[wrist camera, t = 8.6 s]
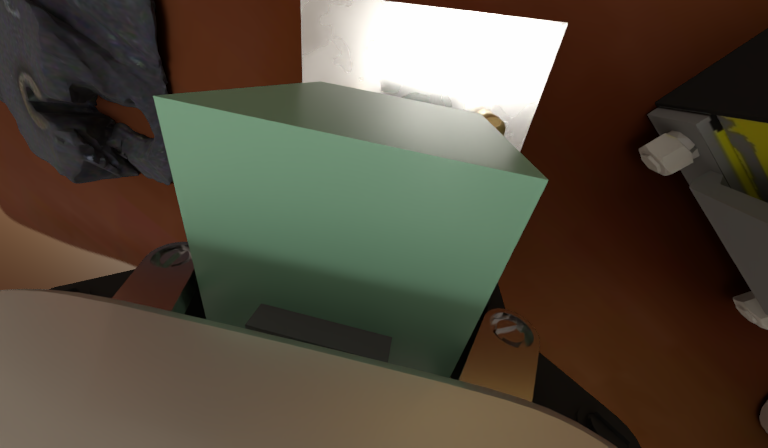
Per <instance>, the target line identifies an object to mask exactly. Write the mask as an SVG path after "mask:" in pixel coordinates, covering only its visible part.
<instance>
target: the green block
mask: <svg viewBox="0 0 768 448" xmlns="http://www.w3.org/2000/svg"><path fill="white" fill-rule="evenodd" d="M153 98H154V102H155V106H156V110H157V115H158V119H159V123H160V127H161V131H162V135H163V140H164V144H165V148H166V152H167V156H168V161H169V165H170V169H171V173H172V177H173V182H174V186H175V190H176V194H177V198H178V202H179V207H180V211H181V215H182V219H183V223H184V228H185V232H186V236H187V240H188V244H189V249H190V253H191V257H192V261H193V265H194V269H195V274H196V278H197V282H198V286H199V290H200V295H201V299H202V303H203V307H204V311H205V316H206V320H211V321H215V322H219V323H224V324H228V325H232V326H237V327H241V328H245V329H249V330H254V331H258V332H262V333H266V334H270V335H275V336H279V337H283V338H287V339H292V340H296V341H300V342H304V343H308V344H313V345H317V346H321V347H325V348H329V349H334V350H338V351H342V352H346V353H350V354H354V355H358V356H362V357H367V358H371V359H375V360H379V361H383V362H387V363H391V364H395V365H399V366H403V367H408V368H412V369H416V370H420V371H424V372H428V373H432V374H436V375H440V376H444V377H447V378H450V376H451V374H452V372H453V370H454V368H455V366H456V364H457V362H458V360H459V358H460V356H461V354H462V352H463V350H464V348H465V346H466V344H467V342H468V340H469V338H470V336H471V334H472V332H473V330H474V328H475V326H476V324H477V322H478V320H479V318H480V316H481V314H482V312H483V310H484V308H485V306H486V304H487V302H488V300H489V298H490V296H491V294H492V292H493V290H494V288H495V286H496V284H497V282H498V280H499V278H500V276H501V274H502V272H503V270H504V268H505V266H506V264H507V262H508V260H509V258H510V256H511V254H512V252H513V250H514V248H515V246H516V244H517V242H518V240H519V238H520V236H521V234H522V232H523V230H524V228H525V226H526V224H527V222H528V220H529V218H530V216H531V214H532V212H533V210H534V208H535V206H536V204H537V202H538V200H539V198H540V196H541V194H542V192H543V190H544V188H545V186H546V184H547V182H548V179H547V178H546V177H545V176H544V175H543V174H542V173H541V172H540V171H539V170H538V169H537V168H536V167H535V166H534V165H533V164H532V163H531V162H530V161H529V160H528V159H527V158H525V157H524V156H523V155H522V154H521V153H520V152H519V151H518V150H517V149H516V148H515V147H514V146H513V145H512V144H511V143H510V142H509V141H508V140H507V139H506V138H505V137H504V136H503V135H502V134H501V133H500V132H499V131H498V130H497V129H496V128H495V127H494V126H493V125H492V124H491V123H490V122H489V121H488V120H487V119H486V118H485V117H484V116H483V115H482V114H480V113H475V112H470V111H465V110H460V109H455V108H450V107H445V106H440V105H435V104H430V103H426V102H421V101H416V100H411V99H406V98H401V97H396V96H391V95H386V94H381V93H376V92H371V91H366V90H361V89H356V88H351V87H346V86H341V85H336V84H331V83H326V82H321V81H319V82H308V83H296V84H284V85H273V86H261V87H249V88H238V89H226V90H214V91H202V92H191V93H179V94H167V95H156V96H153Z"/></svg>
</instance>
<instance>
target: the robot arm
mask: <svg viewBox="0 0 768 448" xmlns="http://www.w3.org/2000/svg"><path fill="white" fill-rule="evenodd" d="M539 348H540V337H539V335H538V333H537V331H536V329H535V328H534V327H533V325H532V324H531V323H530V322H529V321H528V320H526V319H525V318H524V317H522V316H521V315H519V314H517V313H516V312H513V311H510V310H507V309H505V307H504V303H503V300H502V296H501V293H500V289H499V286H498V282H497V284H496V286H495V288H494V290H493V292H492V294H491V296H490V298H489V300H488V302H487V304H486V306H485V308H484V310H483V312H482V314H481V316H480V318H479V320H478V322H477V324H476V326H475V328H474V330H473V332H472V334H471V336H470V338H469V340H468V342H467V344H466V346H465V348H464V350H463V352H462V354H461V356H460V358H459V360H458V362H457V364H456V366H455V368H454V370H453V372H452V374H451V376H450V377H451V378H452V379H451V378H447V377H444V376H440V375H436V374H432V373H428V372H424V371H420V370H416V369H412V368H408V367H403V366H399V365H395V364H391V363H387V362H383V361H379V360H375V359H371V358H367V357H362V356H358V355H354V354H350V353H346V352H342V351H338V350H334V349H329V348H325V347H321V346H317V345H313V344H308V343H304V342H300V341H296V340H292V339H287V338H283V337H279V336H275V335H270V334H266V333H262V332H258V331H254V330H249V329H245V328H241V327H237V326H232V325H228V324H224V323H219V322H215V321H211V320H206V316H205V311H204V307H203V303H202V299H201V295H200V290H199V286H198V282H197V278H196V274H195V269H194V265H193V261H192V257H191V253H190V249H189V244H188V242H176V243H171V244H167V245H164V246H161V247H159V248H157V249H155V250H153V251H151V252H150V253H149V254H148V255H147V256H146V257H145V258H144V259H143V260H142V262H141V263H140V264H139V265H138V267H137V268H136V269H134V270H130V271H126V272H121V273H117V274H112V275H108V276H104V277H99V278H94V279H90V280H86V281H81V282H77V283H73V284H68V285H64V286H58V287H54V288H51V289H49V290H47V289H46V290H45V289H43V290H42V289H15V290H14V289H13V290H0V448H641V447H640V445H639V443H638V441H637V439H636V437H635V436H634V435H633V434H632V432H631V431H630V430H629V428H628V427H627V426H626V425H625V424H624V423H623V422H622V421H621V420H620V419H619V418H618V417H617V416H616V415H614V414H613V413H612V412H611V411H610V410H608V409H607V408H606V407H605V406H604V405H602V404H601V403H600V402H599V401H598V400H596V399H595V398H594V397H593V396H591V395H590V394H589V393H588V392H587V391H585V390H584V389H583V388H582V387H581V386H579V385H578V384H577V383H576V382H575V381H573V380H572V379H571V378H570V377H569V376H567V375H566V374H565V373H564V372H562V371H561V370H560V369H559V368H558V367H556V366H555V365H554V364H553V363H552V362H550V361H549V360H548V359H547V358H546V357H544V356H543V355H542V354H541V353H539ZM759 418H760V423H761V426H762V427H763V428H764V430H765V431H766V432H767V433H768V400H767V401H766V402H765V404H764V405H763V407H762V408H761V412H760V416H759Z"/></svg>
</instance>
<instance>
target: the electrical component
mask: <svg viewBox="0 0 768 448" xmlns="http://www.w3.org/2000/svg"><path fill="white" fill-rule="evenodd" d="M655 104H656V106H657V107H658V108H656V109H655V110H653V111H652V112H650V113H649V114H647V115H648V117H649V119H650V120H651V122H652V124H653V125H654V127H655V129H656V130H657V132H658V134H659V135H660V136H659V137H657V138H656V139H654V140H652V141H651V142H649V143H647V144H646V145H644V146H642V147H641V148H639V153H640V155H641V160H642V161H643V162H644V163H645V165H646V166H647V167H648V168H649V169H651V170H653V171H655V172H657V173H659V174H661V175H663V176H667V175H670V174H673V173H675V172H677V171H679V170H681V172H682V174H683V175H684V177H685V179H686V180H687V182H688V184H689V185H690V187H689V188H690V190H691V191H692V193H693V195H694V196H695V198H696V200H697V201H698V203H699V205H700V206H701V208H702V210H703V211H704V213H705V215H706V216H707V218H708V220H709V221H710V223H711V225H712V226H713V228H714V230H715V231H716V233H717V235H718V236H719V238H720V240H721V241H722V243H723V244H724V246H725V248H726V249H727V251H728V253H729V254H730V256H731V258H732V259H733V261H734V263H735V264H736V266H737V268H738V269H739V271H740V273H741V274H742V276H743V278H744V279H745V281H746V283H747V284H748V286H749V288H750V289H751V291H749V292H746V293H744V294H741V295H738V296H735V297H733V300H734V304H735V305H736V308H737V309H738V311H739V312H740V313H741V314H742V315H743V316H744V317H745V318H746V319H748V320H749V321H750V322H752V323H754V324H756V325H758V326H759V327H761V328H764V329H767V330H768V28H767V29H766V30H764V31H763V32H761V33H760V34H758V35H757V36H755V37H754V38H752V39H751V40H749V41H748V42H746V43H745V44H743V45H742V46H740V47H738V48H737V49H735V50H734V51H732V52H731V53H729V54H728V55H726V56H725V57H723V58H722V59H720V60H719V61H717V62H716V63H714V64H713V65H711V66H710V67H708V68H707V69H705V70H704V71H702V72H701V73H699V74H697V75H696V76H694V77H693V78H691V79H690V80H688V81H687V82H685V83H684V84H682V85H681V86H679V87H678V88H676V89H675V90H673V91H672V92H670V93H669V94H667V95H666V96H664V97H663V98H661V99H660V100H658V101H656V102H655Z"/></svg>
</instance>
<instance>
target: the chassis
mask: <svg viewBox="0 0 768 448" xmlns="http://www.w3.org/2000/svg"><path fill="white" fill-rule="evenodd" d="M567 25H568V23H565V22H556V21H548V20H540V19H532V18H523V17H515V16H507V15H499V14H491V13H482V12H474V11H466V10H458V9H449V8H441V7H433V6H425V5H416V4H408V3H400V2H392V1H383V0H301V40H302V83H308V82H319V81H321V82H326V83H331V84H336V85H341V86H346V87H351V88H356V89H361V90H366V91H371V92H376V93H381V94H386V95H391V96H396V97H401V98H406V99H411V100H416V101H421V102H426V103H430V104H435V105H440V106H445V107H450V108H455V109H460V110H465V111H470V112H475V113H480V114H482V115H483V116H484V117H485V118H486V119H487V120H488V121H489V122H490V123H491V124H492V125H493V126H494V127H495V128H496V129H497V130H498V131H499V132H500V133H501V134H502V135H503V136H504V137H505V138H506V139H507V140H508V141H509V142H510V143H511V144H512V145H513V146H514V147H515V148H516V149H517V150H518V151H519V152H520V151H521V148H522V145H523V143H524V140H525V137H526V135H527V132H528V129H529V127H530V124H531V121H532V119H533V116H534V113H535V111H536V108H537V105H538V102H539V100H540V97H541V94H542V92H543V89H544V86H545V84H546V81H547V78H548V76H549V73H550V70H551V68H552V65H553V62H554V60H555V57H556V54H557V52H558V49H559V46H560V44H561V41H562V38H563V36H564V33H565V30H566V28H567Z"/></svg>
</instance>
